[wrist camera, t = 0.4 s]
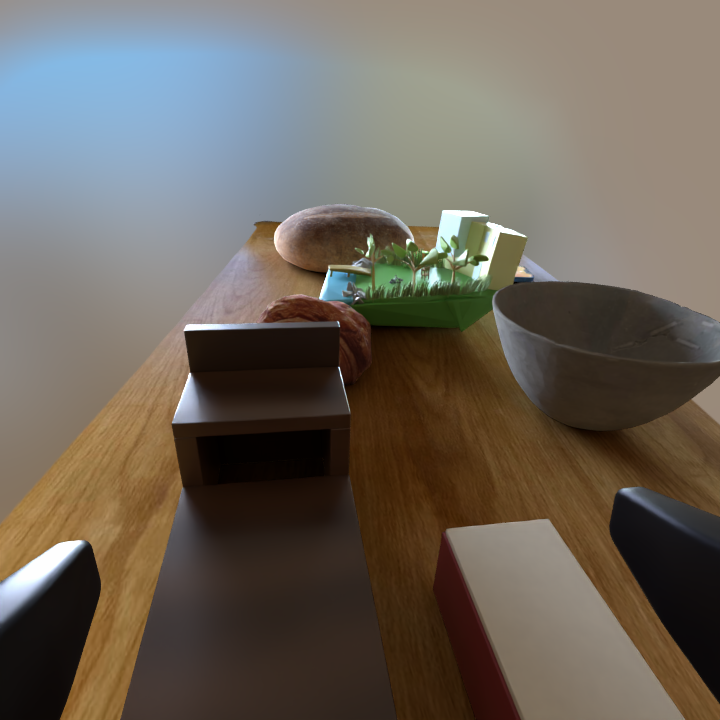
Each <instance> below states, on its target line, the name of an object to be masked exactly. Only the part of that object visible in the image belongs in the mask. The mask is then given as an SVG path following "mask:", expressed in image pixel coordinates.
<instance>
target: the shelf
mask: <svg viewBox="0 0 720 720" xmlns="http://www.w3.org/2000/svg"><path fill="white" fill-rule="evenodd" d="M184 333H185V340H186V347H187V353H188V360H189V367H190V375H189V378H188V381H187V383H186V386H185V389H184V392H183V394H182V397H181V400H180V403H179V405H178V408H177V411H176V414H175V416H174V419H173V422H172V429H173V435H174V441H175V446H176V452H177V457H178V463H179V468H180V474H181V479H182V484H183V488H182V492H181V496H180V499H179V503H178V507H177V510H176V514H175V518H174V522H173V525H172V529H171V533H170V537H169V540H168V544H167V548H166V551H165V555H164V559H163V563H162V566H161V570H160V574H159V578H158V581H157V585H156V589H155V592H154V596H153V600H152V604H151V607H150V611H149V615H148V618H147V622H146V626H145V630H144V633H143V637H142V641H141V645H140V648H139V652H138V656H137V659H136V663H135V667H134V671H133V674H132V678H131V682H130V686H129V689H128V693H127V697H126V700H125V704H124V708H123V712H122V715H121V719H120V720H397V715H396V710H395V705H394V700H393V695H392V690H391V684H390V679H389V674H388V669H387V664H386V659H385V654H384V649H383V644H382V639H381V634H380V629H379V624H378V619H377V613H376V608H375V603H374V598H373V593H372V588H371V583H370V578H369V573H368V568H367V563H366V558H365V553H364V548H363V542H362V537H361V532H360V527H359V522H358V517H357V512H356V507H355V502H354V497H353V492H352V487H351V482H350V477H349V457H350V427H351V412H350V408H349V404H348V400H347V396H346V392H345V388H344V384H343V380H342V376H341V372H340V368H339V357H340V325H339V322H338V321H331V322H289V323H248V324H206V325H187V326H186V328H185V330H184ZM310 458H322V459H323V467H324V474H325V476H320V477H307V478H294V479H281V480H268V481H255V482H242V483H229V484H218V478H219V472H220V466H221V465H225V464H239V463H253V462H268V461H282V460H296V459H310Z"/></svg>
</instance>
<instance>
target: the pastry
mask: <svg viewBox="0 0 720 720" xmlns="http://www.w3.org/2000/svg"><path fill="white" fill-rule="evenodd" d="M331 321H338V322H339V325H340V357H339V368H340V372H341V376H342V380H343V384H344V385H348V384H354V383H355V382H356V380H357V379H358V378H359V377H360V376H361V375H362V373H363V372H364V371H365V370H366V369H368V368H369V367H370V366H371V362H372V354H371V339H370V337H371V326H370V323H369V322H368V321H367V319H366V318H365V317H364V316H363V315H362V314H360V313H358V312H357V311H355V310H354V309H353V308H352V307H350V306H349V305H347V304H345V303H343V302H339V301H328V302H327V301H324V300H321V299H318V298H314V297H310V296H305V295H292V296H285V297H283V298H281V299H278V300H276V301H274V302H271V303H270V304H269V305H268V307H267V308H266V310H265V311H264V312H263V313H262V314H261V316H260V317H259V319H258V321H257V322H256V323H289V322H331Z"/></svg>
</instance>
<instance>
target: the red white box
mask: <svg viewBox="0 0 720 720" xmlns="http://www.w3.org/2000/svg"><path fill="white" fill-rule="evenodd" d="M433 591H434V594H435V597H436V600H437V603H438V606H439V609H440V612H441V615H442V618H443V621H444V624H445V628H446V631H447V634H448V637H449V640H450V643H451V646H452V649H453V652H454V655H455V658H456V661H457V664H458V667H459V670H460V673H461V676H462V679H463V682H464V685H465V688H466V691H467V694H468V697H469V701H470V704H471V707H472V710H473V713H474V716H475V719H476V720H685V719H684V717H683V716H682V714H681V713H680V711H679V710H678V708H677V707H676V705H675V704H674V702H673V701H672V699H671V698H670V697H669V695H668V694H667V692H666V691H665V689H664V688H663V686H662V685H661V683H660V682H659V680H658V679H657V677H656V676H655V674H654V673H653V672H652V670H651V669H650V667H649V666H648V664H647V663H646V661H645V660H644V658H643V657H642V655H641V654H640V652H639V651H638V650H637V648H636V647H635V645H634V644H633V642H632V641H631V639H630V638H629V636H628V635H627V633H626V632H625V630H624V629H623V627H622V626H621V625H620V623H619V622H618V620H617V619H616V617H615V616H614V614H613V613H612V611H611V610H610V608H609V607H608V605H607V604H606V603H605V601H604V600H603V598H602V597H601V595H600V594H599V592H598V591H597V589H596V588H595V586H594V585H593V583H592V582H591V580H590V579H589V578H588V576H587V575H586V573H585V572H584V570H583V569H582V567H581V566H580V564H579V563H578V561H577V560H576V558H575V557H574V556H573V554H572V553H571V551H570V550H569V548H568V547H567V545H566V544H565V542H564V541H563V539H562V538H561V536H560V535H559V533H558V532H557V531H556V529H555V528H554V526H553V525H552V523H551V522H550V520H549V519H541V520H531V521H521V522H510V523H500V524H490V525H480V526H470V527H460V528H450V529H446V532H443V533H442V538H441V544H440V550H439V556H438V562H437V568H436V574H435V580H434V586H433Z"/></svg>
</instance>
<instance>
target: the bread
mask: <svg viewBox="0 0 720 720" xmlns="http://www.w3.org/2000/svg"><path fill="white" fill-rule="evenodd" d="M370 233H371V235H372V237H373V239H374V242H375V250H374V252H378V248H380V249H379V252H378V253H379V254H380V253H381V250H385V248H386V250H388V249H387V248H390V249H389V251H391V249H392V251H394V249H393V246H392V243H395V244H396V245H398V246H401V248H403V249H404V250H405V251H406V252H407V250H408V249H406V248H407V239H410V240H411V241H412V242H413V243H414V239H413V236H412V233H411V232H410V230H409V228H408V227H407V226H406V225H405V224H404V223H403V222H402V221H401V220H399V219H398V218H397V217H395V216H394V215H392V214H390V213H388V212H385V211H382V210H379V209H376V208H362V207H358V206H355V205H348V204H331V205H323V206H318V207H315V208H310V209H306V210H303V211H300V212H298V213H296V214H294V215H293V216H290V217H289V218H288V219H287V220H285V221H284V222H283V223H282V224H281V225H280V226H279V227H278V228H277V230H276V232H275V235H274V243H275V246H276V249H277V251H278V253H279V254H280V255H281V256H282V257H283V258H284V259H285V260H286V261H288V262H290V263H292V264H294V265H296V266H298V267H300V268H303V269H306V270H310V271H315V272H322V273H327V272H328V270H329V267H328V265H352V263H353V261H356V260H358V261H359V260H361V259H362V258H366V259H367V260H369V261H371V257H372V256H371V257H370V258H368V257H366V256H365V255H366V254H367V253H366V252H368V250H369V246H368V237H369V238H370ZM388 246H389V247H388ZM390 246H391V247H390ZM355 248H359V249H361V250H363V253H364V254H361V253H359V252H358V251H357V250H355ZM364 251H366V252H364ZM408 252H409V251H408ZM379 254H378V257H379ZM394 254H395V253H394ZM411 254H413V253H411ZM389 256H390V255H389ZM375 260H376V259H375V253H374V261H375ZM401 260H402V259H401ZM386 262H387V261H386ZM399 263H400V262H399Z"/></svg>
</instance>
